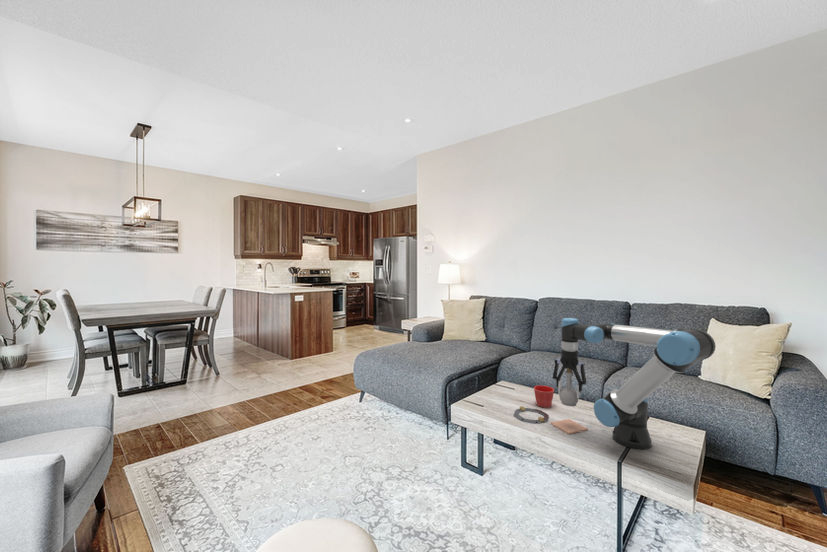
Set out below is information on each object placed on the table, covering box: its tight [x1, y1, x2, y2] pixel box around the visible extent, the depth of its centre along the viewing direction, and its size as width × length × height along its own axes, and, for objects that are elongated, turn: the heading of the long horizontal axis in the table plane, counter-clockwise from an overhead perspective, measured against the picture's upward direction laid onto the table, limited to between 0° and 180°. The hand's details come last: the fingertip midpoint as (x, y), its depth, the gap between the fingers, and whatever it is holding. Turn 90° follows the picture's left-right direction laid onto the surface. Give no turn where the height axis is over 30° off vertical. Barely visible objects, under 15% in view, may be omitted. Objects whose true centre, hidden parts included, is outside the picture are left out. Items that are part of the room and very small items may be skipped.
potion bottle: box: [558, 368, 579, 407], centre depth 174 cm, size 9×9×18 cm
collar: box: [513, 405, 550, 425], centre depth 187 cm, size 17×17×2 cm
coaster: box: [550, 418, 589, 435], centre depth 175 cm, size 12×12×1 cm
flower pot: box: [533, 385, 555, 409], centre depth 203 cm, size 11×11×10 cm
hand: (569, 395), depth 174 cm, fingers closed on potion bottle, 8 cm apart
